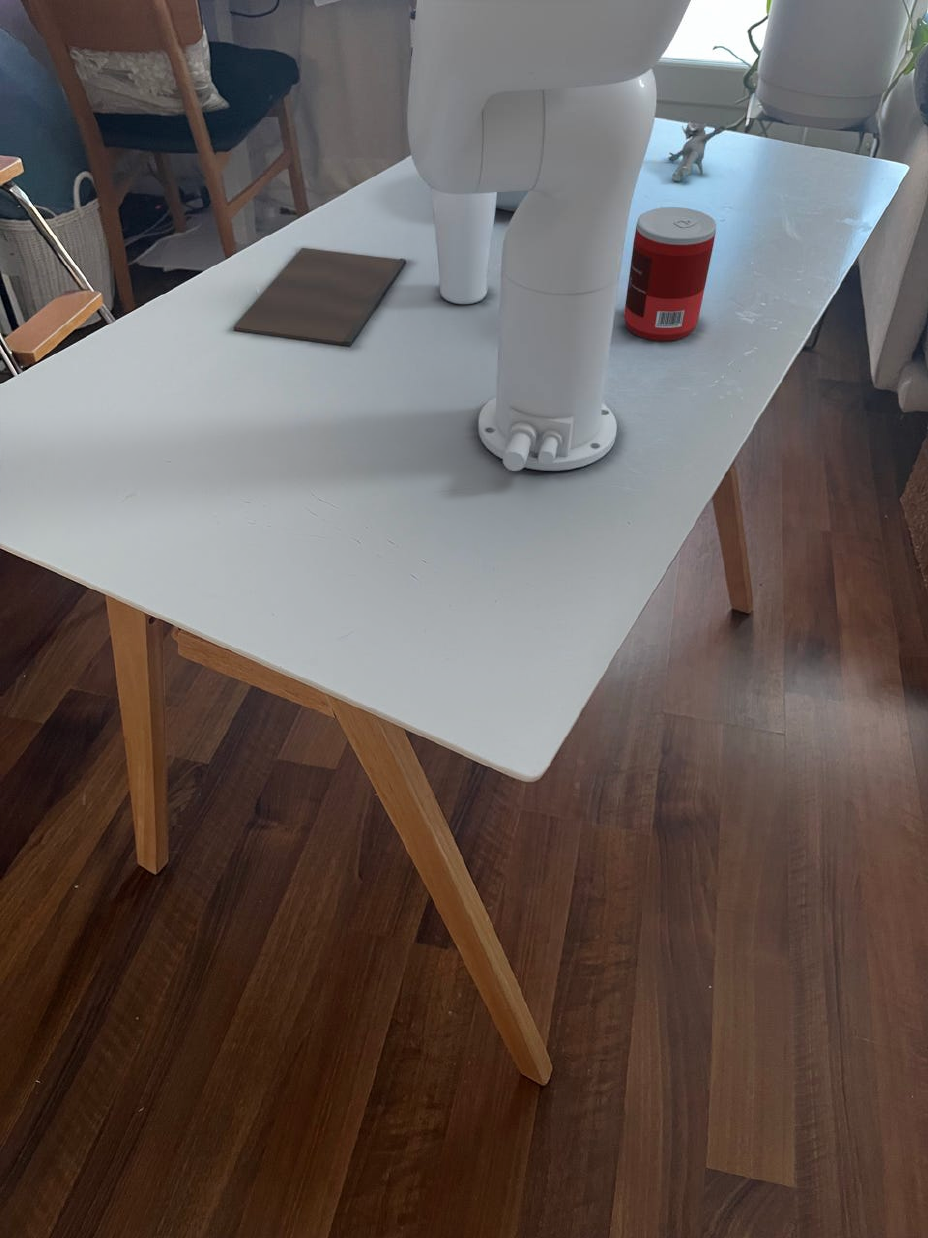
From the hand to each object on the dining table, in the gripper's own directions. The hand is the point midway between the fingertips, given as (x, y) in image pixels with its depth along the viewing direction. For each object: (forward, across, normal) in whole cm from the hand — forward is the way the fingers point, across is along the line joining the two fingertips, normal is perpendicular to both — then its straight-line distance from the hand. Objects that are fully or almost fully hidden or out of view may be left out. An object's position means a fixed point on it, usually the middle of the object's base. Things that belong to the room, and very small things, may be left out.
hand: (491, 14), depth 87 cm
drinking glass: (+27, -2, -3) cm, 27 cm away
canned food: (+27, +20, -3) cm, 34 cm away
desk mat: (+27, -17, -7) cm, 32 cm away
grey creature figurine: (+27, +20, +42) cm, 53 cm away
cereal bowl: (+27, -2, +25) cm, 37 cm away
